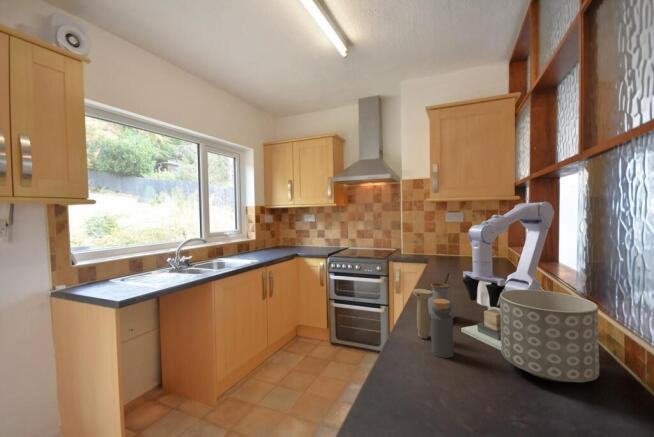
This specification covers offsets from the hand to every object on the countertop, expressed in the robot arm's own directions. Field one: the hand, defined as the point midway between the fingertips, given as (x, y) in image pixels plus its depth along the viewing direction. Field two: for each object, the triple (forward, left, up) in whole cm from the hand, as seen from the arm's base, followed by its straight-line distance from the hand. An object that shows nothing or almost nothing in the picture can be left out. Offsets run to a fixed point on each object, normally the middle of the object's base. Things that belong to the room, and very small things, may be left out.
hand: (483, 303), depth 93 cm
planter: (+4, +22, -11) cm, 25 cm away
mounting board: (-2, +3, -10) cm, 11 cm away
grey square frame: (-3, +3, -9) cm, 10 cm away
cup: (-29, -24, -11) cm, 39 cm away
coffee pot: (-2, -20, -11) cm, 23 cm away
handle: (+19, -6, -11) cm, 23 cm away
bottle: (+21, +5, -11) cm, 24 cm away
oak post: (-2, +3, -9) cm, 10 cm away
